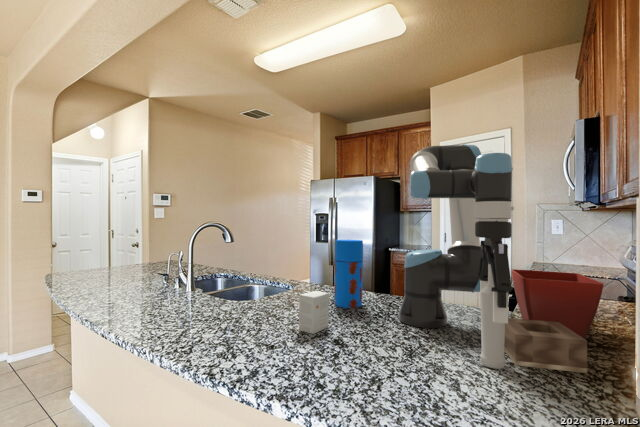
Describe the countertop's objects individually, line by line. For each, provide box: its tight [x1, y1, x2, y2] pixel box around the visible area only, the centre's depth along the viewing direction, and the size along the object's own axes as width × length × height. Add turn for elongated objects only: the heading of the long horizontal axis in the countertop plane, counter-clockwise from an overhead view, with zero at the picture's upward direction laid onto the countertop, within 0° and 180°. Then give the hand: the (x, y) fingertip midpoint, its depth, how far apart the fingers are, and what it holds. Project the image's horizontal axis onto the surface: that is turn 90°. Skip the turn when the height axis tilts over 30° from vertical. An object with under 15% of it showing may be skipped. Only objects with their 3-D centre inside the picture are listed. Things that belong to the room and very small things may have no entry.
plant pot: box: [511, 268, 604, 339], centre depth 101 cm, size 19×19×17 cm
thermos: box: [334, 239, 364, 309], centre depth 129 cm, size 11×11×25 cm
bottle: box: [479, 263, 506, 370], centre depth 76 cm, size 5×5×25 cm
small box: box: [298, 290, 330, 335], centre depth 99 cm, size 8×6×10 cm
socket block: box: [504, 317, 588, 374], centre depth 81 cm, size 14×14×7 cm
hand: (492, 314), depth 76 cm, fingers open, 12 cm apart
